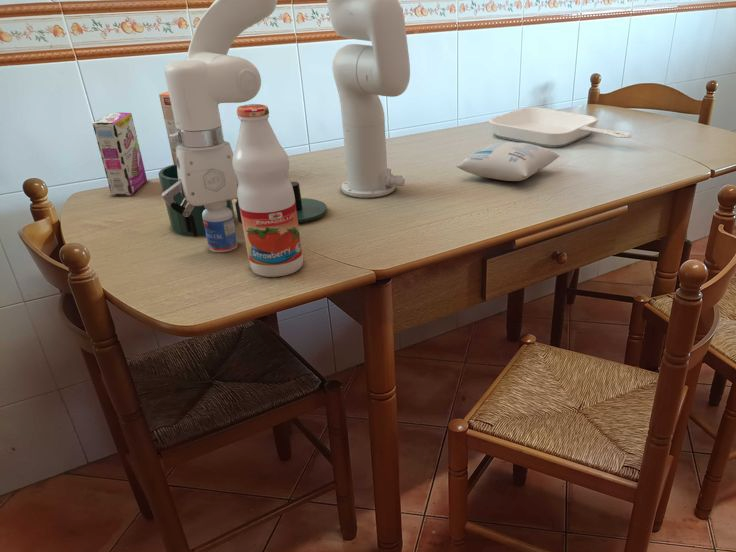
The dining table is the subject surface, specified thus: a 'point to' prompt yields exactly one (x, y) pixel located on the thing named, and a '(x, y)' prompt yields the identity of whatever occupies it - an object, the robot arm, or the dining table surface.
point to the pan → (547, 127)
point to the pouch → (508, 161)
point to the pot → (167, 180)
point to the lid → (307, 206)
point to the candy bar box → (120, 153)
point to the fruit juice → (265, 196)
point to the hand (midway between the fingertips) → (218, 229)
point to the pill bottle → (219, 227)
